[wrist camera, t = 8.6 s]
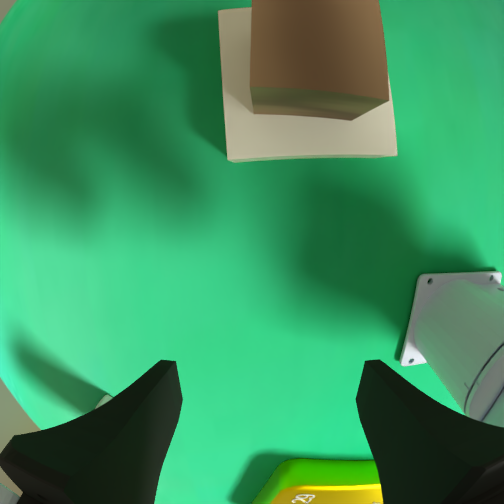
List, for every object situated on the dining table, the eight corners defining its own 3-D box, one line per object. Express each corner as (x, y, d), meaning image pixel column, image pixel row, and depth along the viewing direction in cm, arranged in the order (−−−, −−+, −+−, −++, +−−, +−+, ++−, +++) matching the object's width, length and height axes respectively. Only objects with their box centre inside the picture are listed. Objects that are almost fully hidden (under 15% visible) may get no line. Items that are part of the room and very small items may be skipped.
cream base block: (356, 37, 16) (374, 12, 12) (372, 158, 18) (397, 155, 14) (226, 38, 16) (218, 10, 12) (234, 162, 18) (227, 160, 14)
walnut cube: (347, 38, 12) (377, -5, 7) (351, 120, 14) (389, 100, 9) (255, 30, 12) (252, -20, 8) (253, 114, 14) (249, 86, 9)
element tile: (345, 509, 30) (349, 533, 25) (247, 505, 29) (246, 532, 24) (400, 456, 26) (411, 484, 21) (284, 453, 25) (285, 489, 21)
